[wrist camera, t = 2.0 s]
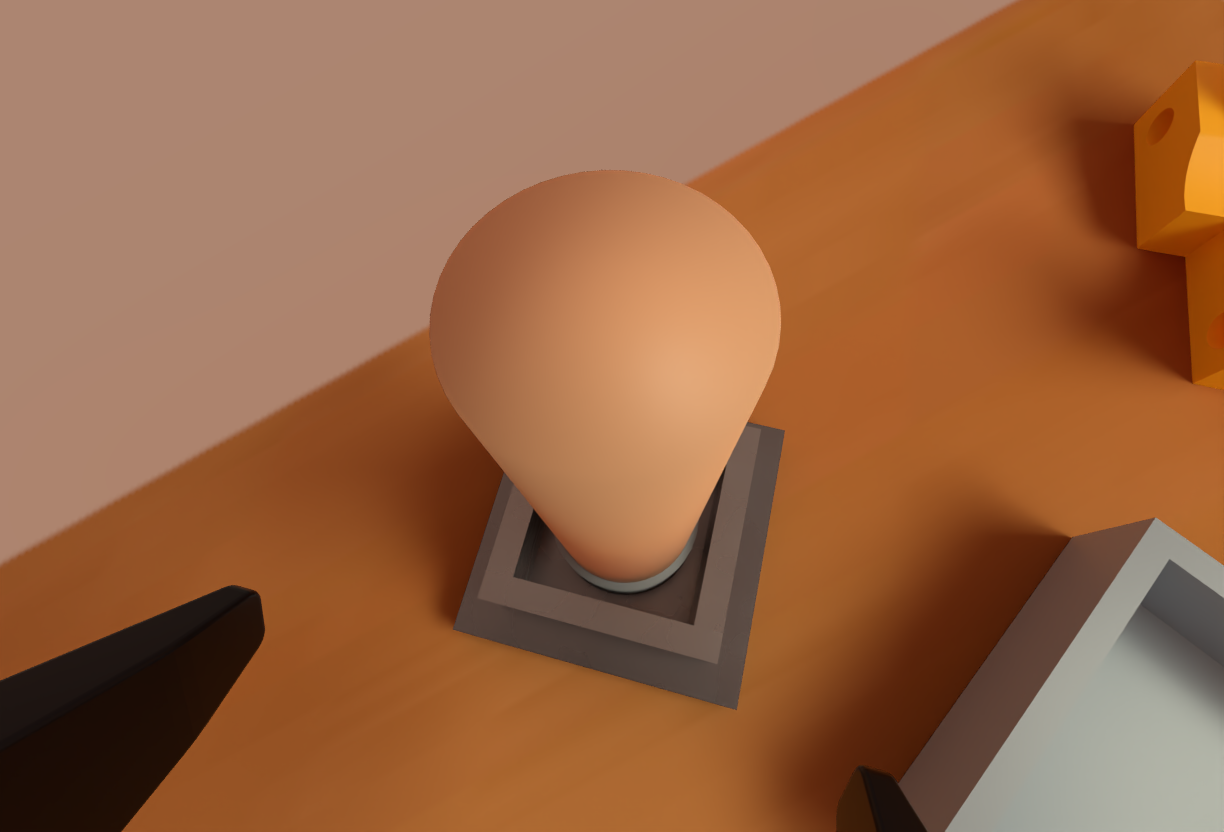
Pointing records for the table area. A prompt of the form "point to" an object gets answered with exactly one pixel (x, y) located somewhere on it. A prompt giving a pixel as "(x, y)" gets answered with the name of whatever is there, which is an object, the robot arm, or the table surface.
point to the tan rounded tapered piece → (608, 359)
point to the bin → (1092, 700)
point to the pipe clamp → (1188, 201)
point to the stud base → (641, 623)
